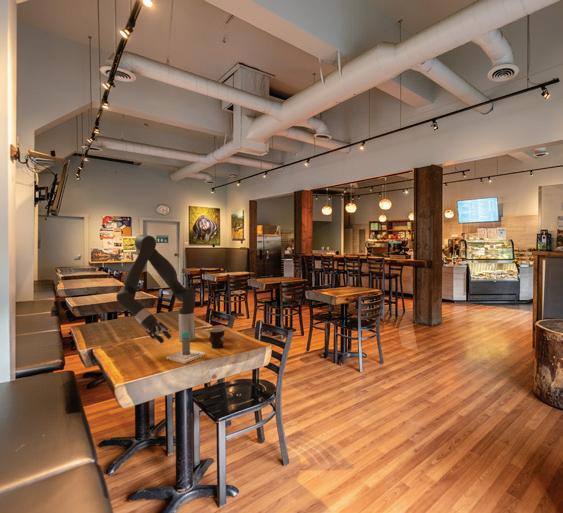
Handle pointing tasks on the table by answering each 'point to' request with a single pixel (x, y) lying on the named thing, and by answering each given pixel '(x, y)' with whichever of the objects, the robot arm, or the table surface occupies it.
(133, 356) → the table surface
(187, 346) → the marker
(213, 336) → the coffee mug
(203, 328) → the table surface
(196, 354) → the notepad
